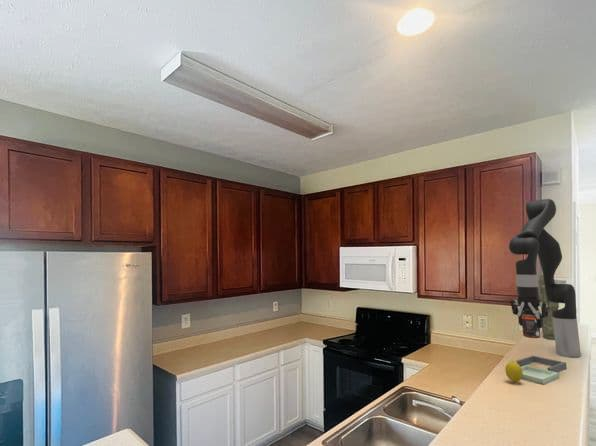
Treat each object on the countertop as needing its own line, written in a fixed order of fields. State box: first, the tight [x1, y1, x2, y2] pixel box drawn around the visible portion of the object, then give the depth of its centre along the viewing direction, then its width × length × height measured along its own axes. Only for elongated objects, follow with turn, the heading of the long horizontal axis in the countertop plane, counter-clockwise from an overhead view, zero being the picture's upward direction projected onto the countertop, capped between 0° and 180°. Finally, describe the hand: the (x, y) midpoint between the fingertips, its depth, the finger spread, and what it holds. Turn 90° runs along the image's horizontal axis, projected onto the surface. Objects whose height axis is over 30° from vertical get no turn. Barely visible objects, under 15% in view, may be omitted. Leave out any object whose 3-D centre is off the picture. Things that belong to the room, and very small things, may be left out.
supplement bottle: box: [521, 309, 541, 339], centre depth 141 cm, size 6×6×11 cm
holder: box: [516, 355, 567, 373], centre depth 146 cm, size 13×13×2 cm
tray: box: [521, 364, 560, 386], centre depth 135 cm, size 12×12×2 cm
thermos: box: [538, 274, 560, 341], centre depth 194 cm, size 9×12×35 cm
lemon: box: [504, 360, 523, 384], centre depth 131 cm, size 6×6×8 cm
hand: (530, 326), depth 141 cm, fingers closed on supplement bottle, 6 cm apart
